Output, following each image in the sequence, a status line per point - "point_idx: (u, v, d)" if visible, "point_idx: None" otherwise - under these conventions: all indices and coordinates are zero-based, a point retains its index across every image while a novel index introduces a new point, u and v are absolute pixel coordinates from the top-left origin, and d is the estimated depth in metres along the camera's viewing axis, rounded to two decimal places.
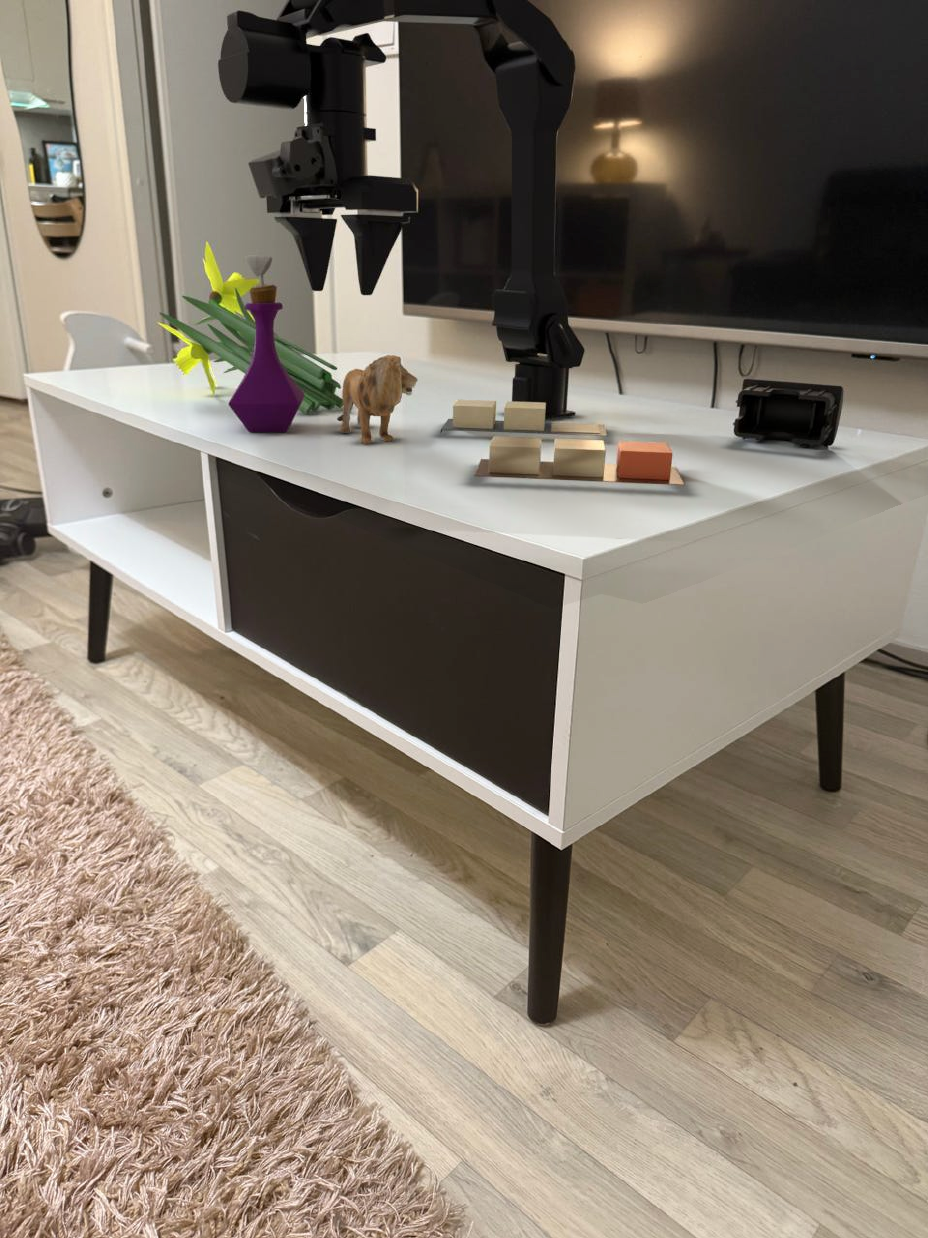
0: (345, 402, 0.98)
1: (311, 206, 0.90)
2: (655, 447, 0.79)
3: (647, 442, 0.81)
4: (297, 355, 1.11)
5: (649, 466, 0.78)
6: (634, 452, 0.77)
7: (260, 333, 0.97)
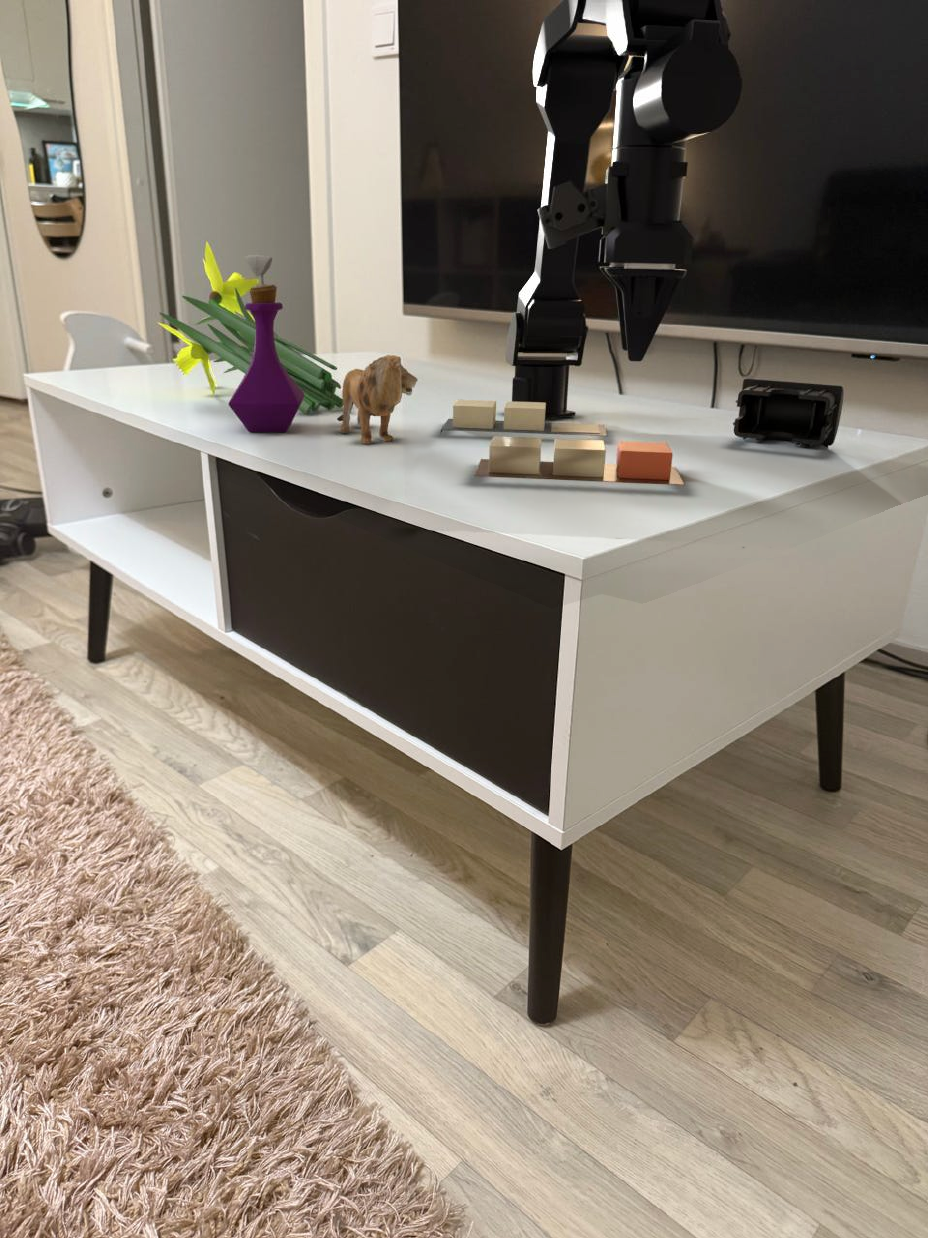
0: (345, 402, 0.98)
1: None
2: (655, 447, 0.79)
3: (647, 442, 0.81)
4: (297, 355, 1.11)
5: (649, 466, 0.78)
6: (634, 452, 0.77)
7: (260, 333, 0.97)
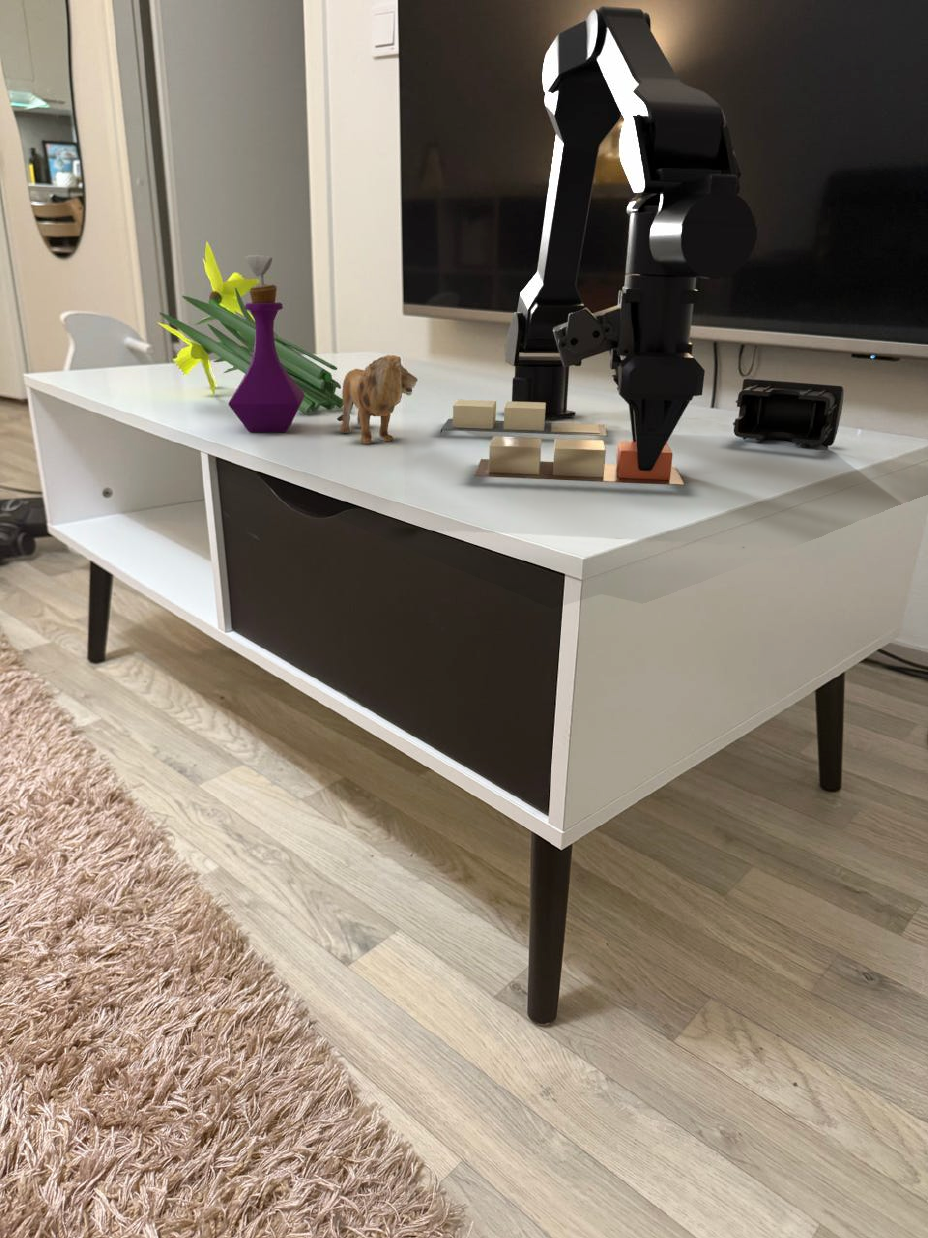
0: (345, 402, 0.98)
1: None
2: None
3: None
4: (297, 355, 1.11)
5: None
6: (634, 452, 0.77)
7: (260, 333, 0.97)
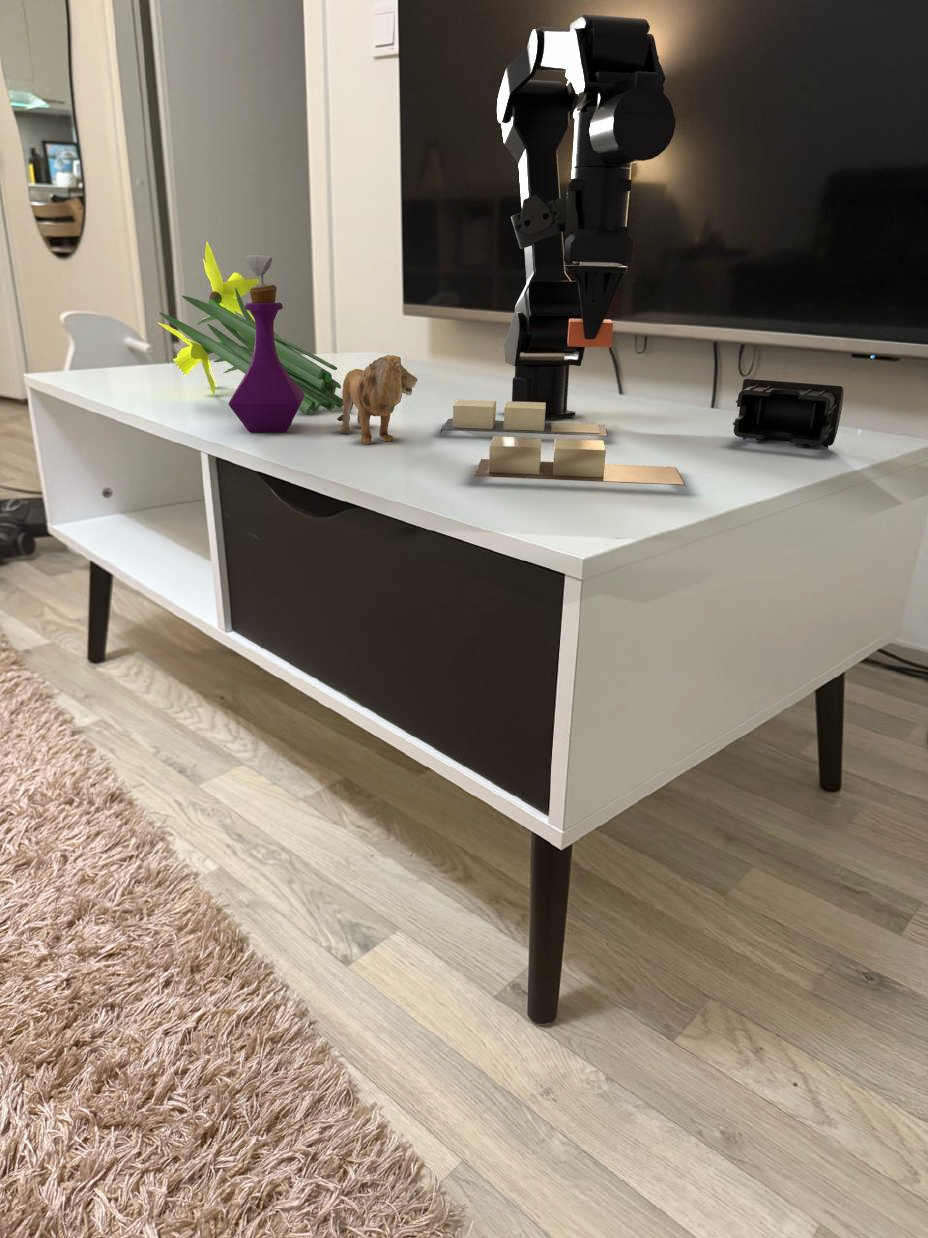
0: (345, 402, 0.98)
1: None
2: None
3: None
4: (297, 355, 1.11)
5: None
6: (580, 322, 0.91)
7: (260, 333, 0.97)
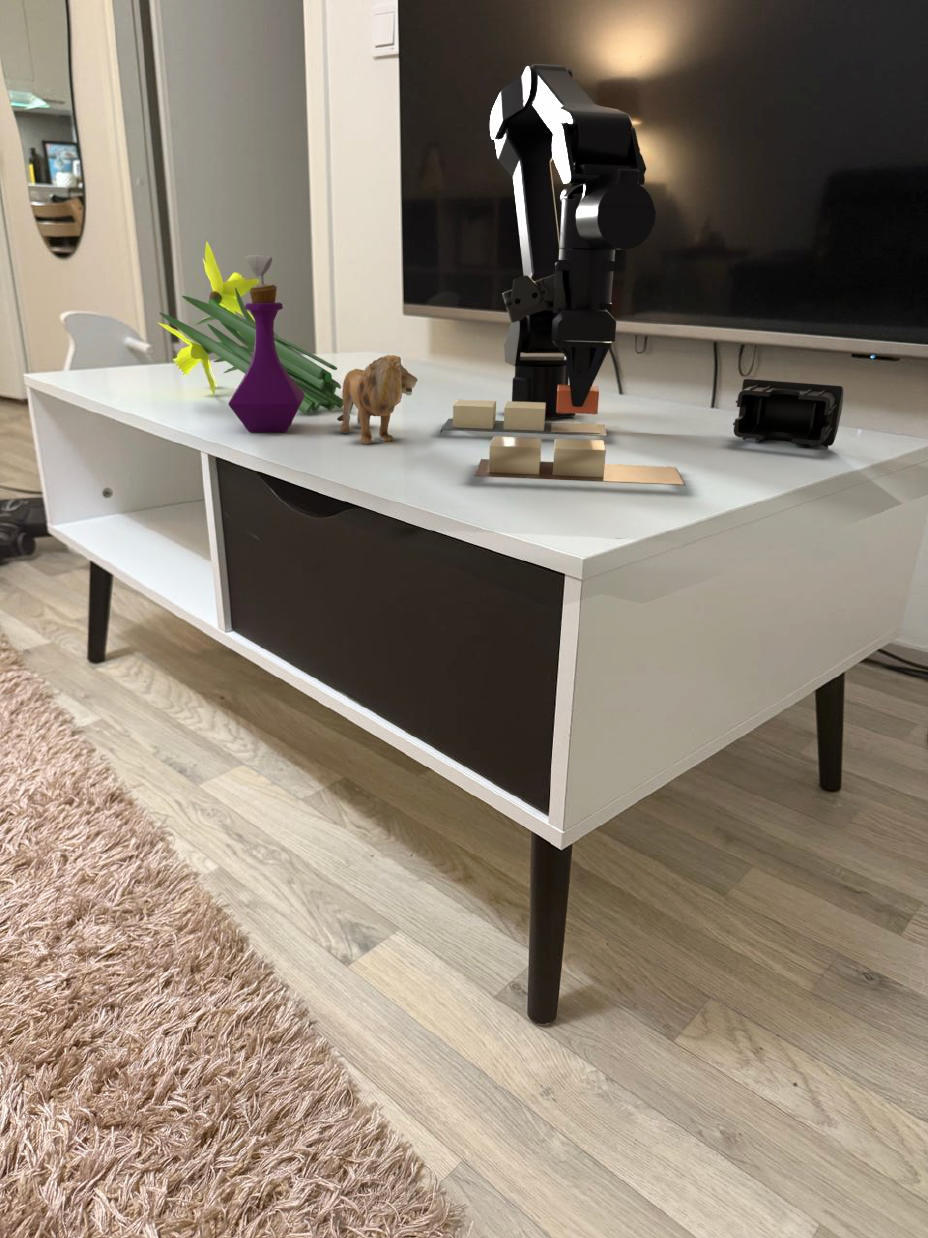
0: (345, 402, 0.98)
1: None
2: None
3: None
4: (297, 355, 1.11)
5: None
6: (568, 391, 0.97)
7: (260, 333, 0.97)
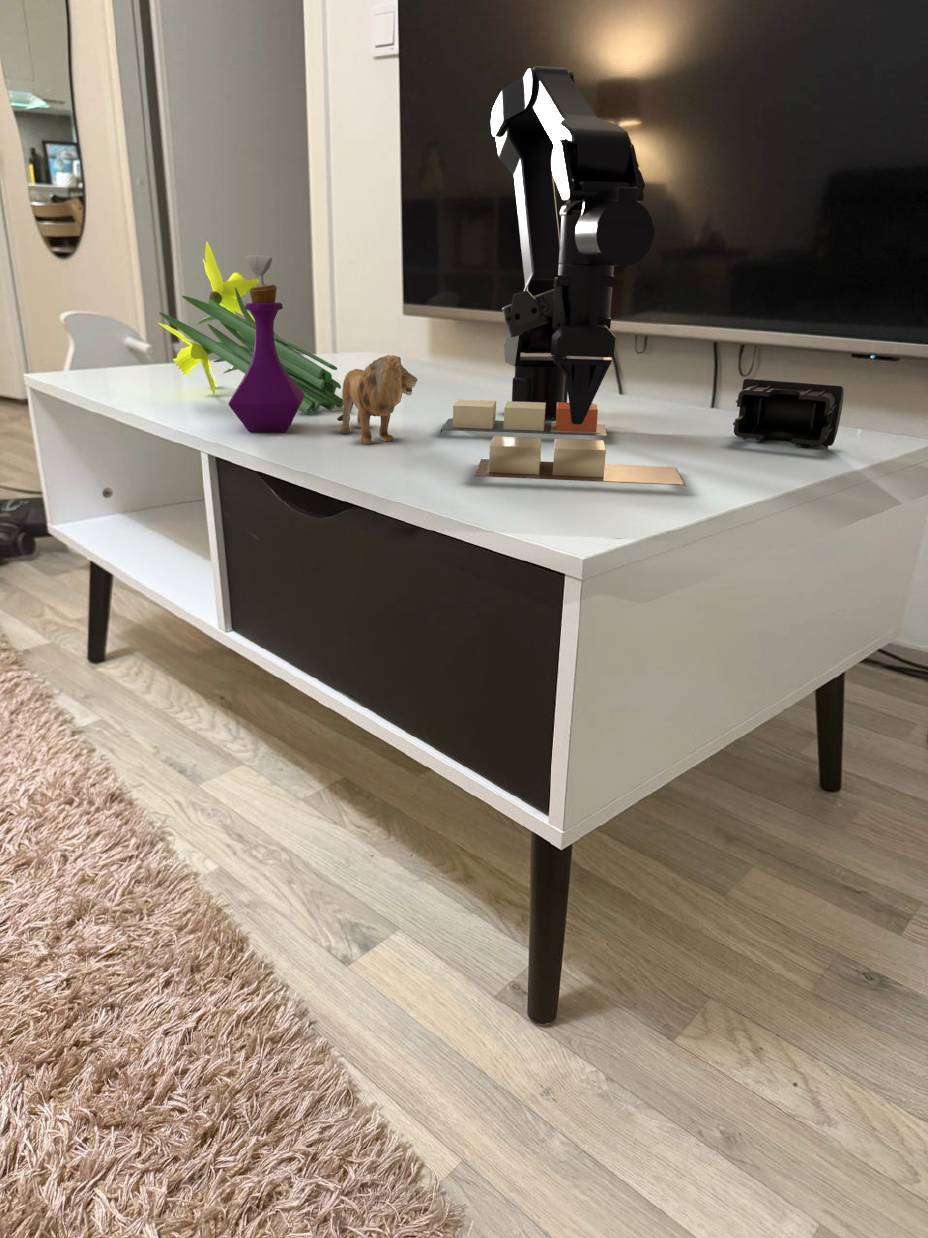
0: (345, 402, 0.98)
1: None
2: None
3: None
4: (297, 355, 1.11)
5: None
6: (567, 409, 0.97)
7: (260, 333, 0.97)
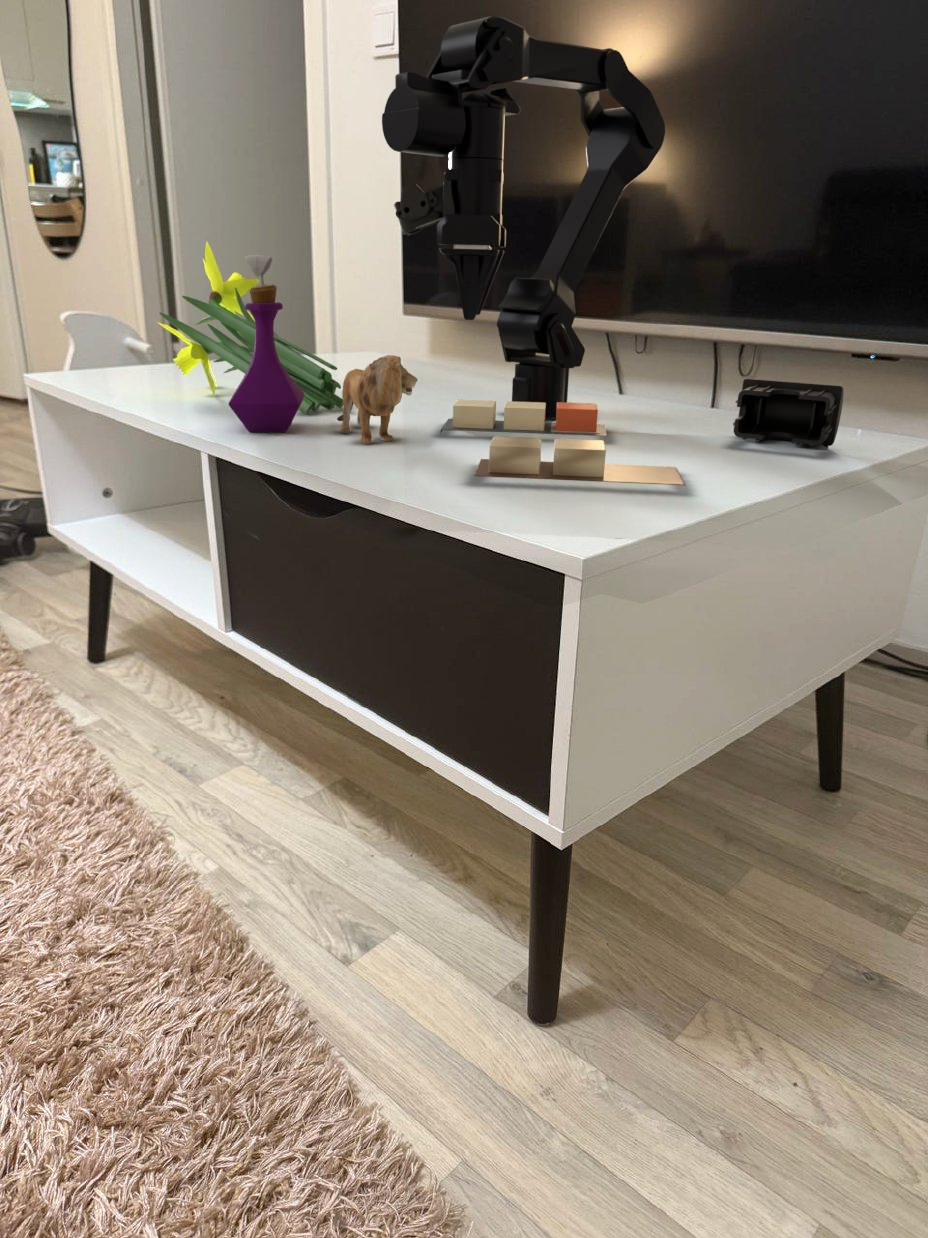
0: (345, 402, 0.98)
1: None
2: (585, 406, 0.99)
3: (580, 403, 1.01)
4: (297, 355, 1.11)
5: (580, 421, 0.98)
6: (567, 409, 0.97)
7: (260, 333, 0.97)
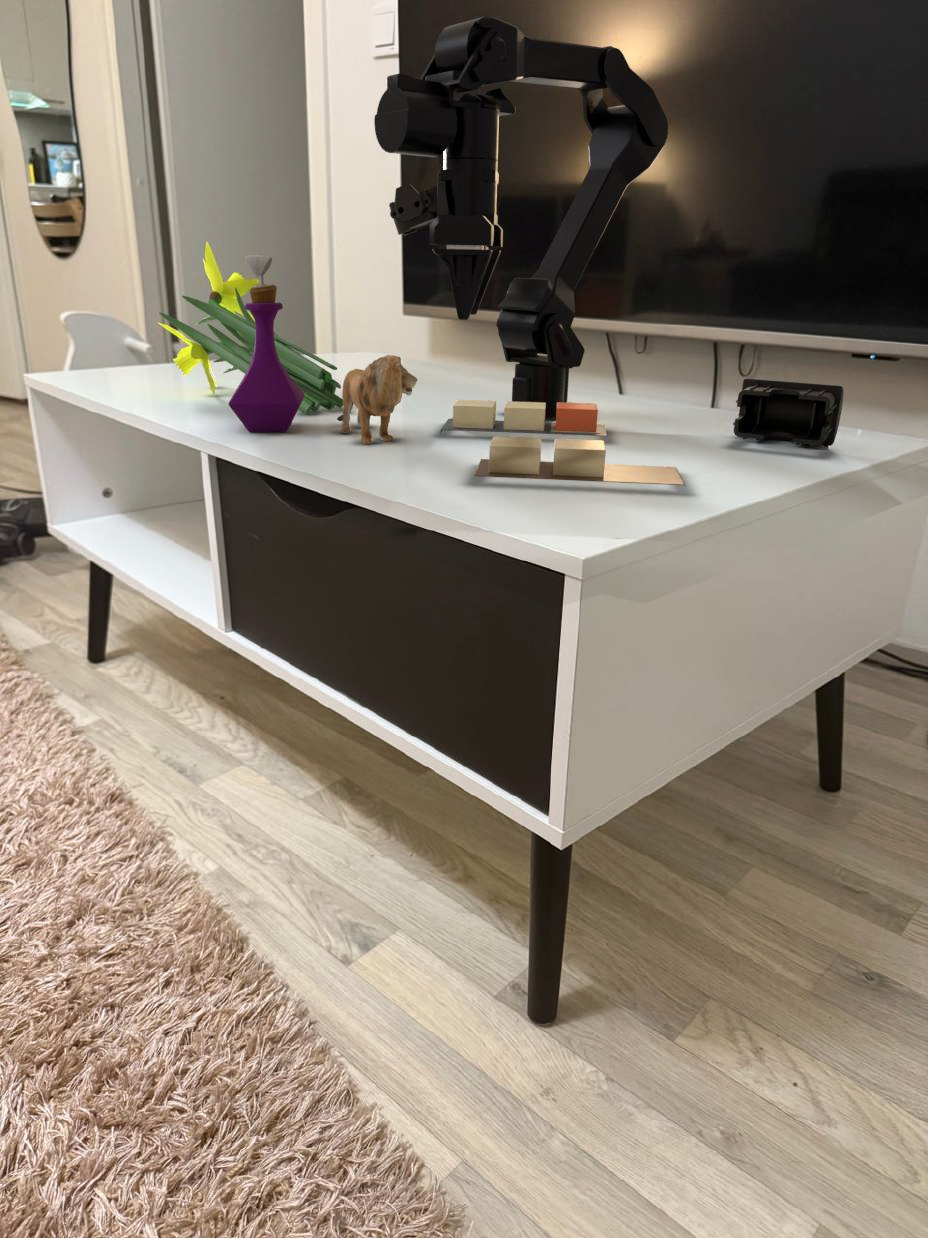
0: (345, 402, 0.98)
1: None
2: (585, 406, 0.99)
3: (580, 403, 1.01)
4: (297, 355, 1.11)
5: (580, 421, 0.98)
6: (567, 409, 0.97)
7: (260, 333, 0.97)
